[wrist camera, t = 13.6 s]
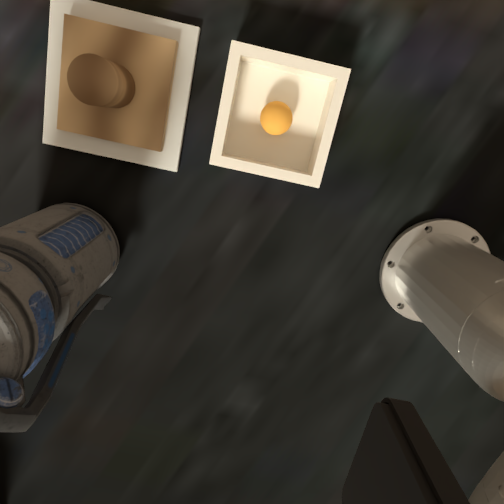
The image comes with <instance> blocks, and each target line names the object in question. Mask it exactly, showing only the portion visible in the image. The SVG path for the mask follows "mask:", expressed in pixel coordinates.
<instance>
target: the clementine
mask: <svg viewBox="0 0 504 504" xmlns="http://www.w3.org/2000/svg"><path fill="white" fill-rule="evenodd" d="M292 120H293V116H292V112H291V109H290V108H289V106H288V105H286V104H285V103H283V102H281V101H273V102H270V103H268V104H267V105H266V106H265V107H264V108H263V109H262V111H261V114H260V122H261V125H262V127H263V129H264V130H265V131H266V132H267V133H269V134H271V135H281V134H283V133H285V132H286V131H287V130H288V129H289V128H290V126H291V124H292Z"/></svg>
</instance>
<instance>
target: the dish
mask: <svg viewBox="0 0 504 504" xmlns="http://www.w3.org/2000/svg"><path fill="white" fill-rule="evenodd" d="M350 72H351V69H349V68H345V67H341V66H337V65H332V64H328V63H324V62H320V61H316V60H312V59H308V58H304V57H300V56H296V55H292V54H287V53H283V52H279V51H275V50H271V49H267V48H263V47H259V46H255V45H251V44H247V43H242V42H238V41H234V40H232V41H231V47H230V52H229V58H228V63H227V69H226V74H225V80H224V85H223V91H222V96H221V102H220V107H219V113H218V118H217V124H216V129H215V135H214V140H213V146H212V151H211V156H210V162H209V164H211V165H216V166H221V167H225V168H230V169H234V170H239V171H243V172H248V173H252V174H257V175H261V176H266V177H271V178H275V179H280V180H284V181H289V182H293V183H298V184H302V185H307V186H311V187H316V188H319V186H320V183H321V179H322V175H323V172H324V168H325V164H326V161H327V157H328V153H329V149H330V146H331V142H332V138H333V135H334V131H335V127H336V124H337V120H338V116H339V112H340V109H341V105H342V101H343V98H344V94H345V90H346V86H347V83H348V79H349V75H350ZM273 101H281V102H283V103H285V104H286V105H288V106H289V108H290V109H291V112H292V116H293V120H292V124H291V126H290V128H289V129H288V130H287V131H286V132H285V133H283V134H281V135H271V134H269V133H267V132H266V131H265V130H264V129H263V127H262V125H261V122H260V114H261V111H262V109H263V108H264V107H265V106H266V105H267V104H268V103H270V102H273Z"/></svg>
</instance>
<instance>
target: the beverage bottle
mask: <svg viewBox="0 0 504 504" xmlns="http://www.w3.org/2000/svg"><path fill="white" fill-rule="evenodd" d="M119 256H120V249H119V243H118V239H117V236H116V234H115V232H114V230H113V228H112V227H111V226H110V224H109V223H108V221H106V220H105V219H104V218H103V217H102V216H101V215H100V214H99V213H97V212H96V211H94V210H93V209H90V208H88V207H86V206H83V205H79V204H75V203H61V204H55V205H52V206H50V207H47V208H45V209H42V210H40V211H38V212H35V213H33V214H31V215H28V216H26V217H24V218H21V219H19V220H17V221H14V222H12V223H10V224H7V225H5V226H3V227H0V432H26V431H27V429H28V428H29V427H30V426H31V425H32V424H33V423H34V422H35V420H36V419H37V417H38V416H39V414H40V413H41V411H42V410H43V408H44V407H45V405H46V404H47V402H48V401H49V399H50V398H51V395H52V393H53V391H54V388H55V386H56V383H57V381H58V379H59V376H60V374H61V371H62V369H63V367H64V364H65V362H66V359H67V357H68V355H69V352H70V350H71V347H72V345H73V343H74V340H75V338H76V335H77V333H78V331H79V328H80V327H81V326H82V324H83V323H84V322H85V321H86V319H87V318H88V317H89V315H90V314H91V313H92V311H93V310H103V308H104V306H105V305H106V304H107V303H108V302H109V301H110V300H111V298H112V297H109V296H105V295H101V294H96V295H95V297H94V298H93V299H92V300H91V301H90V302H89V303H88V304H87V305H86V306H85V308H84V309H83V310H82V311H81V312H80V313H79V314H78V315H77V316H76V317H75V319H74V320H73V321H72V322H71V323H70V321H71V320H72V318H73V317H74V315H75V313H76V312H77V311H78V310H79V308H80V307H81V306H82V305H83V304H84V303H85V302H86V301H87V300H88V298H89V297H90V296H91V295H92V294H93V293H94V292H95V291H96V290H97V289H98V288H100V287H101V286H102V285H103V284H104V283H105V282H107V281H108V279H109V278H110V277H111V276H112V274H113V273H114V272H115V270H116V268H117V265H118V262H119ZM69 323H70V324H69ZM68 324H69V325H68ZM67 325H68V326H67ZM66 327H67V328H66ZM65 328H66V329H65ZM64 329H65V330H64ZM63 330H64V331H63ZM62 331H63V333H62ZM61 333H62V335H61V337H60V339H59V341H58V344H57V346H56V348H55V350H54V352H53V354H52V356H51V358H50V360H49V362H48V364H47V366H46V368H45V370H44V372H43V374H42V376H41V378H40V380H39V382H38V384H37V386H36V388H35V390H34V392H33V394H32V396H31V398H30V400H29V402H28V403H27V405H26V406H25V407H24V408H21V406H22V405H23V403H24V402H25V401H26V399H25V391H24V383H23V378H24V377H25V376H26V375H27V374H29V373H30V372H31V371H32V369H33V368H34V367H35V366H36V365H37V364H38V363H39V361H40V360H41V359H42V358H43V357H44V355H45V354H46V352H47V351H48V349H49V348H50V345H51V343H52V341H53V340H55V339H56V338H57V337H58V336H59V335H60V334H61Z"/></svg>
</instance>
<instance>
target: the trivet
mask: <svg viewBox="0 0 504 504" xmlns="http://www.w3.org/2000/svg"><path fill="white" fill-rule="evenodd" d="M64 13H65V14H69V15H73V16H77V17H81V18H85V19H89V20H93V21H98V22H102V23H106V24H110V25H114V26H118V27H122V28H127V29H131V30H135V31H139V32H143V33H147V34H151V35H155V36H160V37H164V38H168V39H172V40H176V41H177V42H178V50H177V57H176V63H175V70H174V77H173V84H172V91H171V98H170V105H169V111H168V118H167V125H166V132H165V139H164V146H163V151H162V152H158V151H154V150H149V149H145V148H140V147H135V146H131V145H126V144H122V143H117V142H113V141H108V140H104V139H99V138H95V137H90V136H86V135H81V134H77V133H72V132H67V131H63V130H58V129H57V115H58V100H59V85H60V70H61V54H62V39H63V24H64ZM199 35H200V27H196V26H192V25H188V24H184V23H180V22H176V21H172V20H168V19H164V18H160V17H156V16H152V15H148V14H143V13H139V12H135V11H131V10H127V9H123V8H119V7H115V6H111V5H107V4H103V3H99V2H95V1H90V0H50V17H49V35H48V53H47V71H46V89H45V108H44V126H43V143H45V144H49V145H54V146H59V147H63V148H68V149H72V150H77V151H82V152H86V153H91V154H95V155H100V156H105V157H109V158H114V159H118V160H123V161H128V162H132V163H137V164H142V165H146V166H151V167H155V168H160V169H165V170H169V171H174V172H177V171H178V167H179V160H180V154H181V148H182V141H183V135H184V129H185V123H186V116H187V110H188V104H189V97H190V91H191V85H192V79H193V72H194V66H195V60H196V53H197V47H198V41H199Z"/></svg>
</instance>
